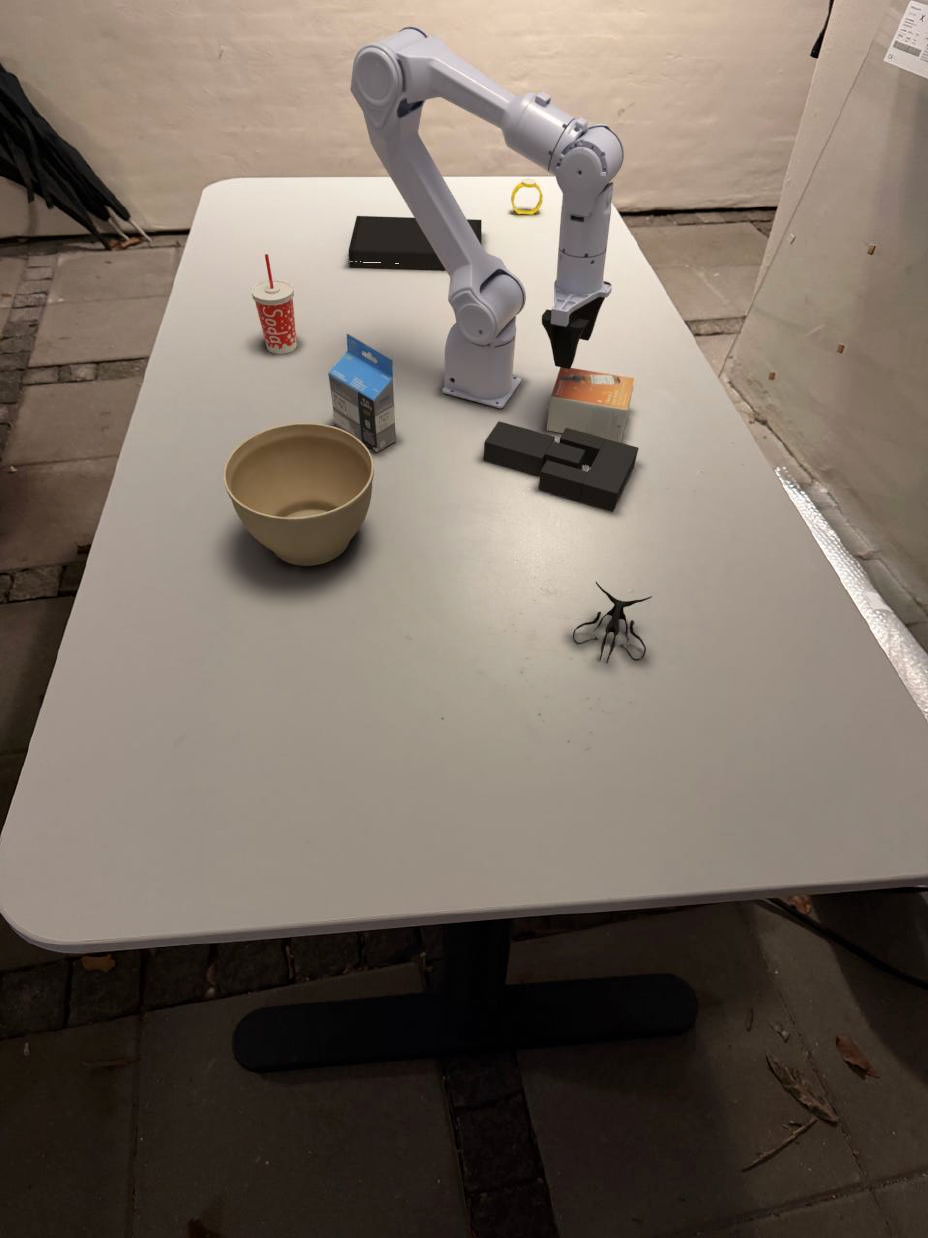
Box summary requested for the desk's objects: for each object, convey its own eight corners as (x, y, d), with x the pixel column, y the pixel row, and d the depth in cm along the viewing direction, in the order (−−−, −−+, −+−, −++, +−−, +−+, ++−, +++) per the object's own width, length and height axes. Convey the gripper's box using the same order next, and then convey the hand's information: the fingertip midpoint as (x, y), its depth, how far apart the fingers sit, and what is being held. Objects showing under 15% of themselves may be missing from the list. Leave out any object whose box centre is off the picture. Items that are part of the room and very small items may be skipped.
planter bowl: (268, 607, 85) (249, 536, 77) (225, 517, 94) (205, 445, 86) (401, 561, 90) (397, 489, 82) (349, 480, 99) (340, 408, 91)
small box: (629, 410, 101) (550, 396, 103) (621, 444, 106) (545, 431, 107) (635, 376, 106) (560, 364, 108) (627, 411, 111) (555, 398, 112)
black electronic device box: (358, 231, 145) (356, 214, 143) (481, 235, 146) (481, 218, 143) (349, 267, 136) (348, 250, 134) (481, 271, 136) (481, 254, 134)
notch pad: (538, 489, 99) (540, 471, 97) (563, 445, 105) (565, 427, 103) (613, 511, 97) (617, 493, 94) (634, 465, 103) (638, 447, 100)
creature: (638, 679, 82) (654, 616, 85) (646, 658, 77) (663, 591, 80) (565, 659, 83) (584, 597, 86) (569, 636, 78) (589, 572, 82)
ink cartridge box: (332, 425, 107) (322, 343, 97) (354, 413, 109) (345, 332, 99) (377, 453, 103) (370, 371, 93) (398, 441, 105) (394, 359, 95)
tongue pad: (483, 460, 103) (484, 441, 100) (497, 439, 106) (498, 420, 103) (572, 486, 100) (575, 467, 97) (584, 463, 103) (587, 445, 100)
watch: (511, 216, 151) (513, 183, 147) (509, 210, 153) (511, 178, 148) (541, 216, 152) (544, 183, 147) (539, 210, 154) (542, 177, 149)
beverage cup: (254, 351, 118) (235, 259, 108) (275, 331, 122) (259, 241, 111) (289, 360, 117) (274, 268, 106) (309, 340, 121) (296, 249, 110)
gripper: (596, 278, 87) (584, 386, 97) (632, 228, 96) (617, 331, 106) (537, 268, 89) (531, 374, 99) (577, 220, 97) (568, 322, 108)
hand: (572, 351), depth 103 cm, fingers open, 7 cm apart
